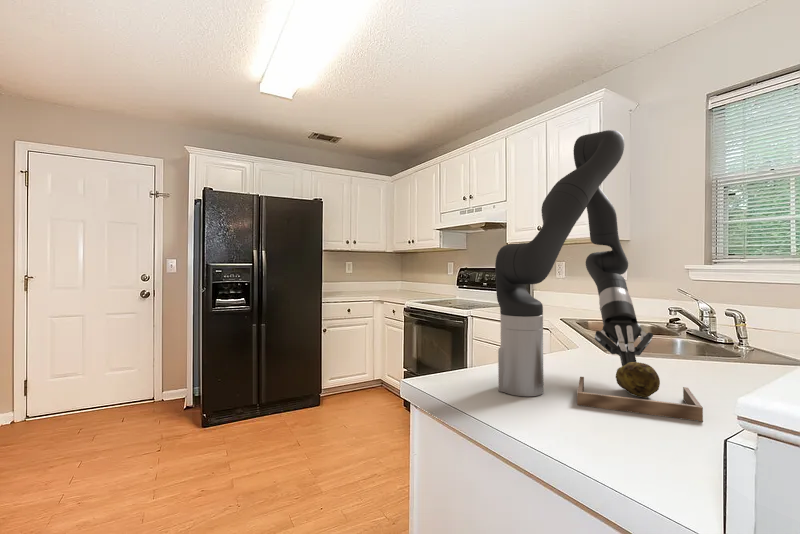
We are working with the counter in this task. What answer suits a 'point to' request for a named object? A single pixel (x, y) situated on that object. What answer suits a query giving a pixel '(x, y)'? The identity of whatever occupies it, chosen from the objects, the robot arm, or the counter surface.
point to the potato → (638, 379)
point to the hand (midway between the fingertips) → (630, 368)
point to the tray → (643, 404)
